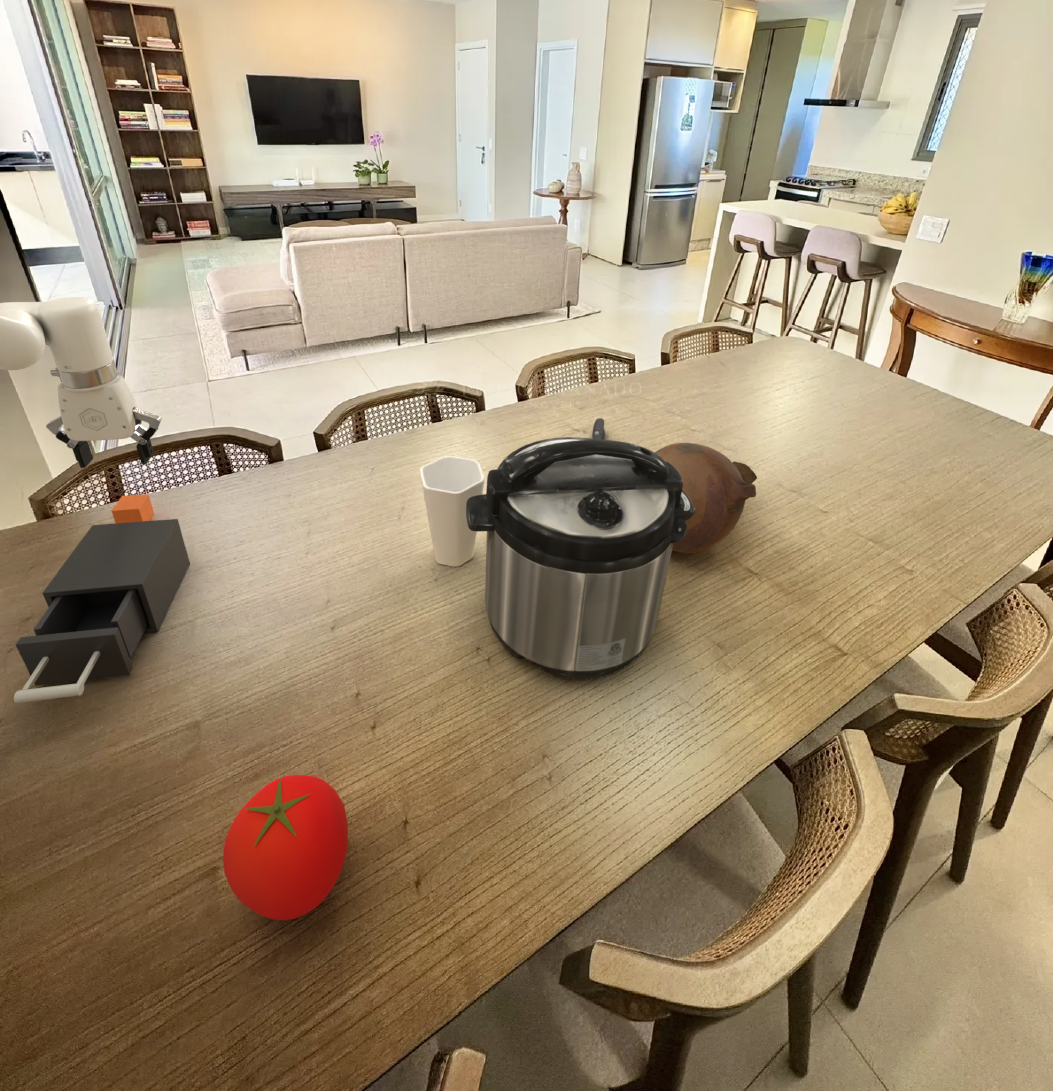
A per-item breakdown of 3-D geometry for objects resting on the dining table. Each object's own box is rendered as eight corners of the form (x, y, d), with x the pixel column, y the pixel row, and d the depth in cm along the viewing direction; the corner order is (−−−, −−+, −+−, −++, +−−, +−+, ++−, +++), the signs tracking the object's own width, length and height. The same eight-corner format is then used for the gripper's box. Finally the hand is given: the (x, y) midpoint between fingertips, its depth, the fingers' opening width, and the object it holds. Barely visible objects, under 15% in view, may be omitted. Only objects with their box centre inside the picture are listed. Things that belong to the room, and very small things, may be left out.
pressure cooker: (683, 585, 101) (717, 423, 87) (639, 727, 77) (676, 538, 63) (524, 531, 111) (531, 380, 97) (444, 641, 88) (438, 463, 74)
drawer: (109, 717, 75) (91, 675, 71) (7, 730, 73) (-16, 688, 69) (165, 600, 92) (153, 562, 89) (84, 608, 90) (69, 569, 87)
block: (117, 530, 107) (111, 510, 105) (128, 515, 111) (122, 495, 109) (144, 528, 108) (138, 508, 106) (154, 513, 112) (148, 493, 110)
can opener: (606, 470, 131) (608, 449, 128) (575, 465, 132) (577, 444, 130) (614, 432, 147) (617, 412, 144) (586, 427, 148) (588, 408, 145)
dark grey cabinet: (158, 632, 88) (142, 584, 84) (63, 642, 86) (42, 593, 81) (190, 563, 101) (177, 518, 96) (108, 570, 98) (92, 525, 94)
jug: (673, 588, 100) (760, 541, 119) (726, 502, 91) (811, 466, 110) (594, 508, 112) (685, 477, 132) (634, 425, 103) (725, 405, 122)
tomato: (373, 838, 65) (364, 767, 59) (318, 964, 55) (300, 893, 50) (283, 808, 67) (265, 736, 61) (215, 923, 58) (187, 851, 52)
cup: (488, 569, 102) (489, 488, 95) (429, 579, 99) (425, 497, 92) (474, 528, 112) (474, 452, 104) (421, 536, 109) (417, 459, 101)
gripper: (15, 385, 91) (51, 477, 99) (138, 381, 94) (163, 470, 102) (42, 366, 98) (73, 453, 106) (155, 362, 101) (178, 447, 109)
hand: (117, 461), depth 104 cm, fingers open, 9 cm apart
